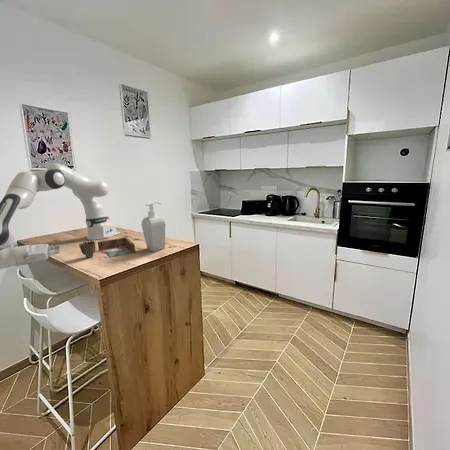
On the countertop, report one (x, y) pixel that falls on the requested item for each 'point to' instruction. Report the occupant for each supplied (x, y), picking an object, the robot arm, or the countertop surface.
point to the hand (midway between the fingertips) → (59, 249)
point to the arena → (115, 244)
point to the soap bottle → (154, 229)
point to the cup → (88, 248)
